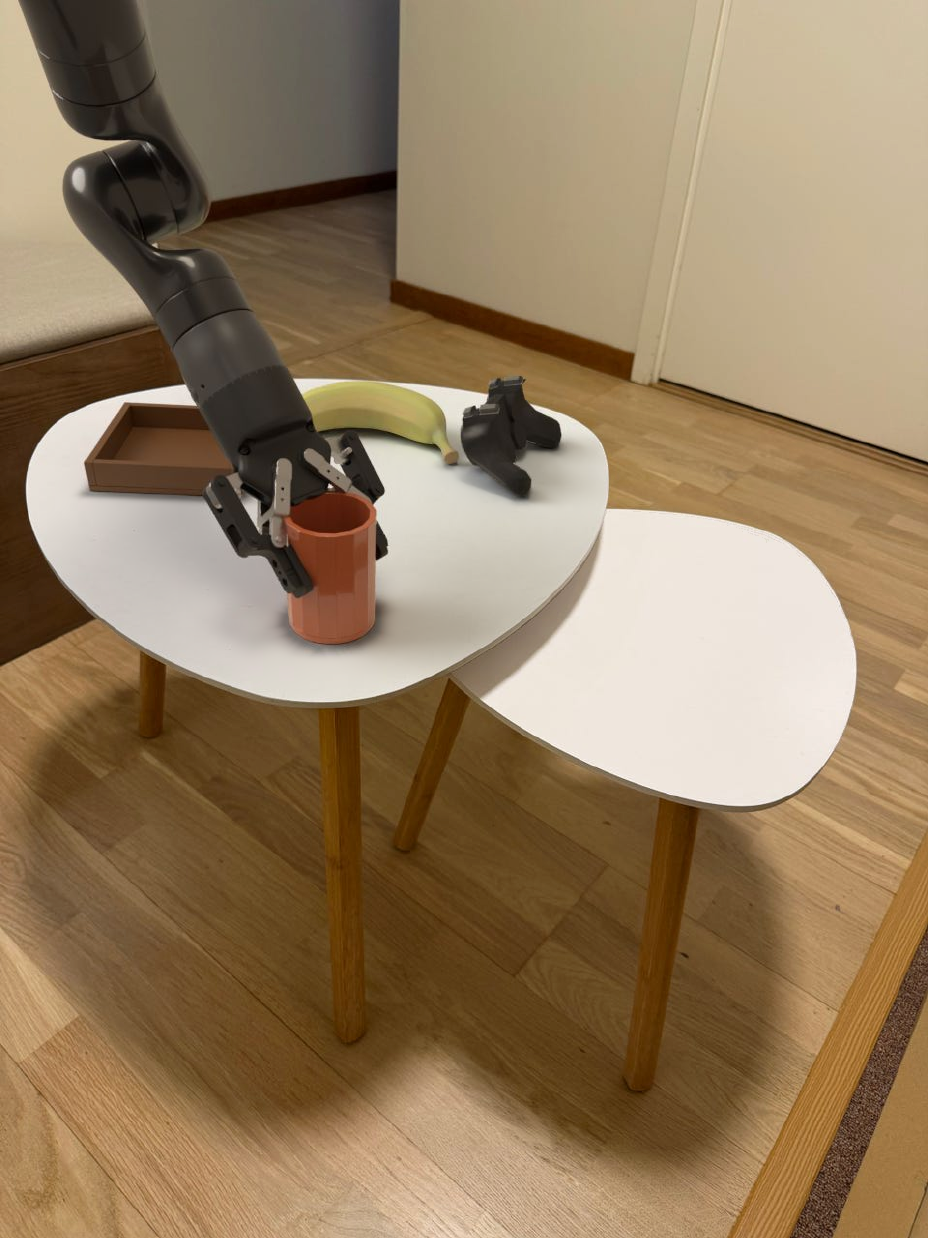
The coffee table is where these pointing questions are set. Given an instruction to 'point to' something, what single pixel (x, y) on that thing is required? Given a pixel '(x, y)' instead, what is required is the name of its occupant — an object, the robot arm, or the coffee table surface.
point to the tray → (156, 452)
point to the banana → (380, 412)
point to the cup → (334, 567)
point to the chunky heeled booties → (506, 433)
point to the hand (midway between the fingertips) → (344, 575)
